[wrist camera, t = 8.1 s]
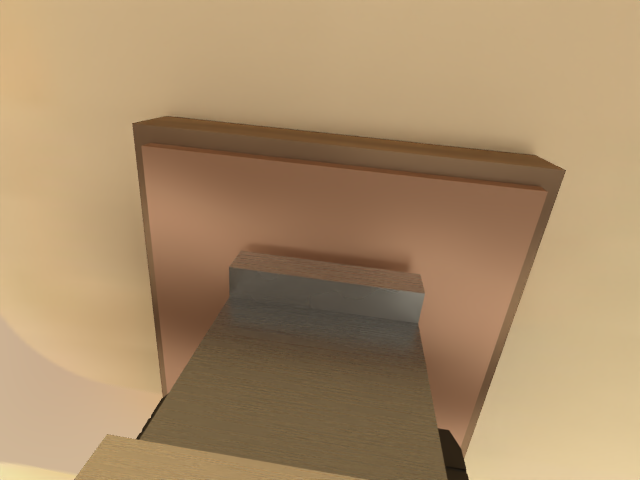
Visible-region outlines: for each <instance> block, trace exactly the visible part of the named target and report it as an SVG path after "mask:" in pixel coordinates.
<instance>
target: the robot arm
mask: <svg viewBox="0 0 640 480" xmlns="http://www.w3.org/2000/svg"><path fill="white" fill-rule="evenodd" d="M167 395H168V394H167ZM167 395H166V396H164V397H163V398H162V399H161V401H160V402H159V404H158V405H157V407H156V409H155V410H154V412H153V414H152V415H151V418H150V419H148V421H147V423H146V424H145V426H144V427H143V429H142V432H141V433H140V434H139V435H138V437H137V438H136V439H137V440H139V439H140V438H141V436H142V435H143V433H144V431H145V430H146V428H147V427H148V425H149V424H150V422H151V420H152V419H153V417H154V416H155V414H156V412H157V411H158V409H159V408H160V406H161V404H162V403H163V401H164V400H165V398H166V397H167ZM438 432H439V437H440V443H441V448H442V453H443V459H444V464H445V469H446V475H447V480H469V479H468V475H467V474H466V466H465V462H464V458H463V454H462V450H461V448H460V446H459V444H458V443H457V441H456V440H455V438H454V437H453V435H452V434H451V432H450V431H449V430H446V429H439V428H438Z"/></svg>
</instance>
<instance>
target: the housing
mask: <svg viewBox="0 0 640 480" xmlns="http://www.w3.org/2000/svg"><path fill="white" fill-rule="evenodd" d="M424 296H425V291H424V287H423V283H422V279H421V275H420V274H415V273H407V272H399V271H392V270H384V269H377V268H369V267H362V266H354V265H346V264H339V263H331V262H324V261H316V260H309V259H301V258H293V257H286V256H278V255H271V254H263V253H255V252H248V251H240V253H239V254H238V255H237V257H236V258H235V260H234V261H233V262H232V264H231V265H230V266H229V298H228V300H227V301H226V303H225V305H224V306H223V308H222V309H221V311H220V312H219V314H218V316H217V317H216V319H215V320H214V322H213V324H212V325H211V327H210V328H209V330H208V332H207V333H206V335H205V336H204V338H203V339H202V341H201V343H200V344H199V346H198V347H197V349H196V351H195V352H194V354H193V355H192V357H191V358H190V360H189V362H188V363H187V365H186V366H185V368H184V370H183V371H182V373H181V374H180V376H179V378H178V379H177V381H176V382H175V384H174V385H173V387H172V389H171V390H170V392H169V393H168V395H167V397H166V398H165V400H164V401H163V403H162V404H161V406H160V408H159V409H158V411H157V412H156V414H155V416H154V417H153V419H152V420H151V422H150V424H149V425H148V427H147V428H146V430H145V431H144V433H143V435H142V436H141V438H140V439H139V440H137V439H132V438H126V437H120V436H114V435H109V434H107V435H106V437H105V438H104V439H103V441H102V442H101V443H100V445H99V446H98V448H97V449H96V451H95V452H94V453H93V455H92V456H91V457H90V459H89V460H88V461H87V463H86V464H85V465H84V467H83V468H82V470H81V471H80V472H79V474H78V475H77V476H76V478H75V479H74V480H447V475H446V469H445V464H444V459H443V453H442V448H441V443H440V437H439V432H438V427H437V421H436V416H435V411H434V405H433V400H432V395H431V389H430V384H429V379H428V373H427V368H426V363H425V357H424V352H423V347H422V341H421V336H420V331H419V325H418V322H419V318H420V313H421V309H422V305H423V300H424Z"/></svg>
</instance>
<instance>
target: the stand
mask: <svg viewBox="0 0 640 480" xmlns="http://www.w3.org/2000/svg"><path fill="white" fill-rule="evenodd" d="M132 124H133V133H134V142H135V151H136V160H137V169H138V178H139V187H140V196H141V205H142V214H143V223H144V232H145V241H146V250H147V259H148V268H149V277H150V286H151V295H152V304H153V313H154V322H155V331H156V340H157V349H158V358H159V367H160V375H161V384H162V393H163V397H164V396H166V395H167V394H168V393H169V392H170V390H171V389H172V387H173V385H174V384H175V382H176V381H177V379H178V378H179V376H180V374H181V373H182V371H183V370H184V368H185V366H186V365H187V363H188V362H189V360H190V358H191V357H192V355H193V354H194V352H195V351H196V349H197V347H198V346H199V344H200V343H201V341H202V339H203V338H204V336H205V335H206V333H207V332H208V330H209V328H210V327H211V325H212V324H213V322H214V320H215V319H216V317H217V316H218V314H219V312H220V311H221V309H222V308H223V306H224V305H225V303H226V301H227V300H228V298H229V266H230V265H231V264H232V262H233V261H234V260H235V258H236V257H237V255H238V254H239V253H240V251H248V252H255V253H263V254H271V255H278V256H286V257H293V258H301V259H309V260H316V261H324V262H331V263H339V264H346V265H354V266H362V267H369V268H377V269H384V270H392V271H399V272H407V273H415V274H420V275H421V279H422V283H423V287H424V291H425V296H424V300H423V305H422V309H421V313H420V318H419V322H418V325H419V331H420V336H421V341H422V347H423V352H424V357H425V363H426V368H427V373H428V379H429V384H430V389H431V395H432V400H433V405H434V411H435V416H436V421H437V427H438V428H439V429H446V430H449V431H450V432H451V434H452V435H453V437H454V438H455V440H456V441H457V443H458V444H459V446H460V448H461V450H462V454H463V458H464V457H465V454H466V452H467V449H468V446H469V443H470V440H471V437H472V435H473V432H474V429H475V426H476V423H477V420H478V418H479V415H480V412H481V409H482V406H483V403H484V401H485V398H486V395H487V392H488V389H489V386H490V384H491V381H492V378H493V375H494V372H495V369H496V367H497V364H498V361H499V358H500V355H501V353H502V350H503V347H504V344H505V341H506V338H507V336H508V333H509V330H510V327H511V324H512V321H513V319H514V316H515V313H516V310H517V307H518V304H519V302H520V299H521V296H522V293H523V290H524V287H525V285H526V282H527V279H528V276H529V273H530V270H531V268H532V265H533V262H534V259H535V256H536V253H537V251H538V248H539V245H540V242H541V239H542V236H543V234H544V231H545V228H546V225H547V222H548V220H549V217H550V214H551V211H552V208H553V205H554V203H555V200H556V197H557V194H558V191H559V188H560V186H561V183H562V180H563V177H564V174H565V171H566V170H564V169H562V168H560V167H558V166H556V165H554V164H552V163H550V162H548V161H546V160H544V159H542V158H540V157H538V156H536V155H526V154H517V153H507V152H498V151H489V150H479V149H470V148H460V147H451V146H442V145H432V144H423V143H413V142H404V141H394V140H385V139H376V138H366V137H357V136H347V135H338V134H329V133H319V132H310V131H300V130H291V129H282V128H272V127H263V126H253V125H244V124H234V123H225V122H216V121H206V120H197V119H187V118H178V117H169V116H165V117H160V118H156V119H151V120H146V121H141V122H137V123H132Z"/></svg>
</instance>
